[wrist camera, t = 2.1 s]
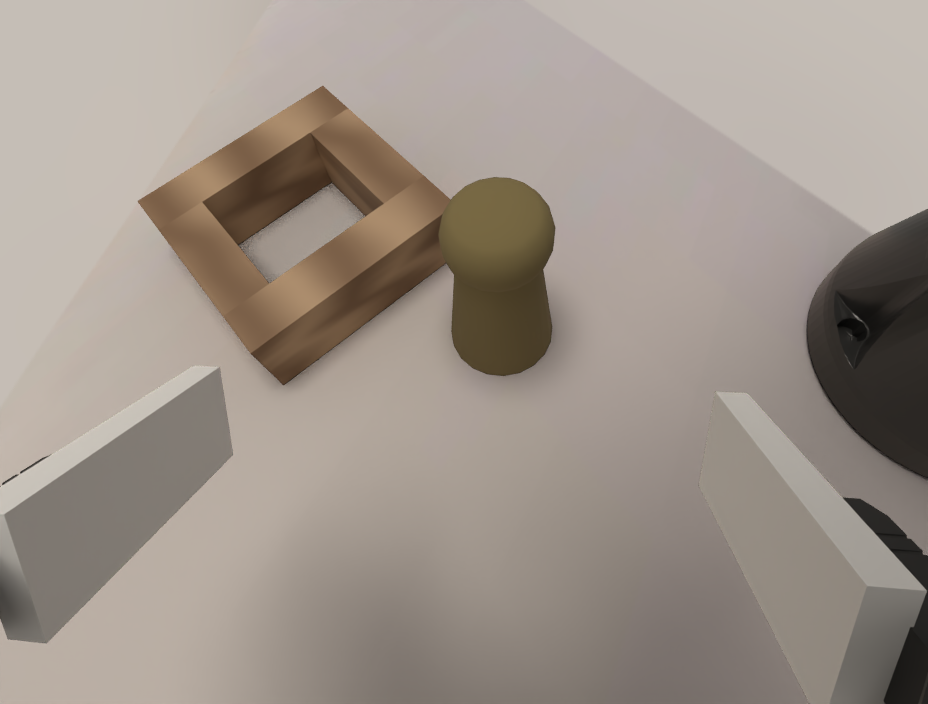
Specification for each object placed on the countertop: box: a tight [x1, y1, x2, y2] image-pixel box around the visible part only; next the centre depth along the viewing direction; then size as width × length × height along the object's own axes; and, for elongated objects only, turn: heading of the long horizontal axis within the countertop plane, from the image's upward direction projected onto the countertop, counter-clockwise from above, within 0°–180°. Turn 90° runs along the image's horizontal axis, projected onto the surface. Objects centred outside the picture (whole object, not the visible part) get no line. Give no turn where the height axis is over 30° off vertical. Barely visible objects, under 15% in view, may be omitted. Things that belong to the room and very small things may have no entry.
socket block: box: [138, 86, 450, 385], centre depth 35 cm, size 14×14×4 cm
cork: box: [438, 177, 555, 376], centre depth 28 cm, size 6×6×11 cm
